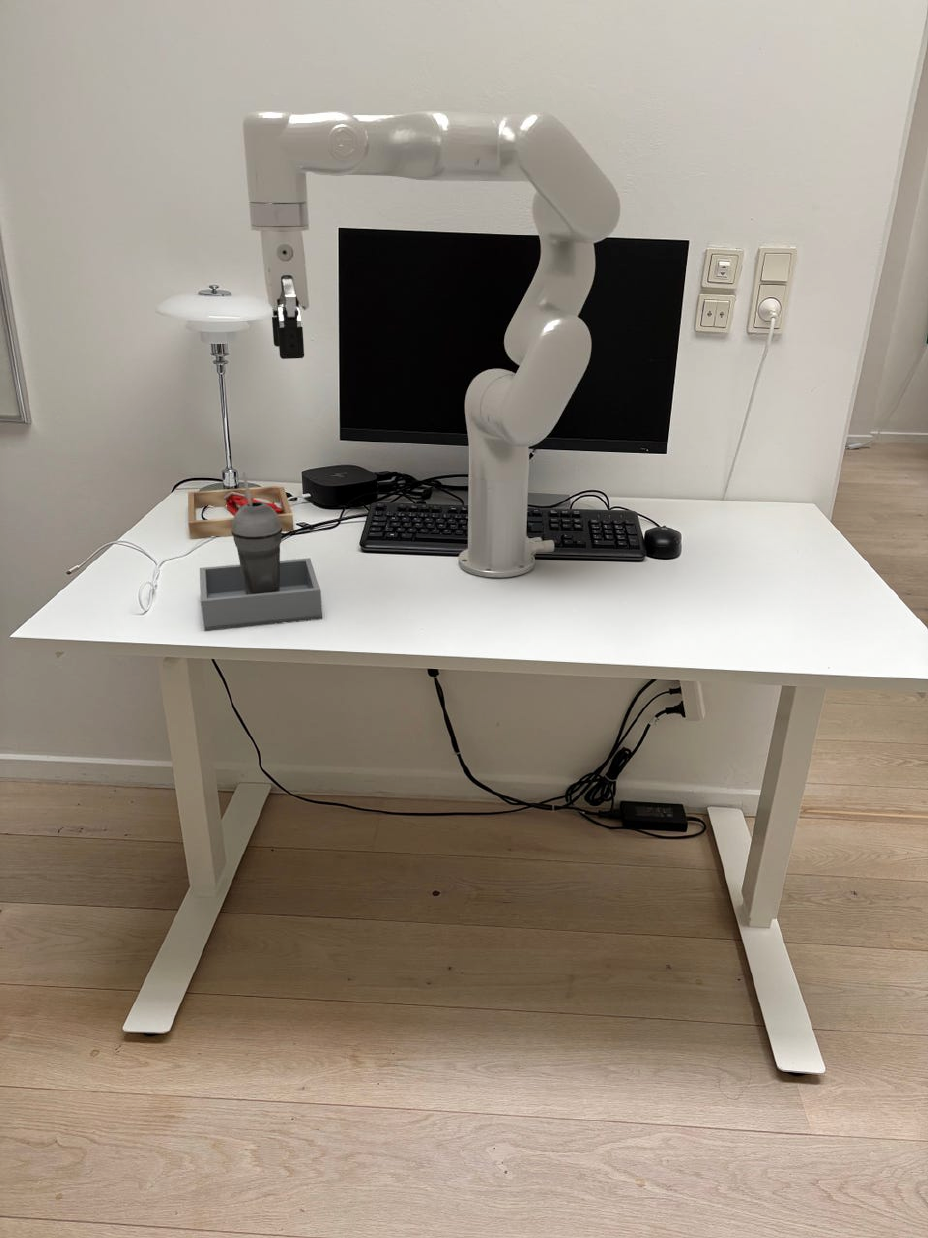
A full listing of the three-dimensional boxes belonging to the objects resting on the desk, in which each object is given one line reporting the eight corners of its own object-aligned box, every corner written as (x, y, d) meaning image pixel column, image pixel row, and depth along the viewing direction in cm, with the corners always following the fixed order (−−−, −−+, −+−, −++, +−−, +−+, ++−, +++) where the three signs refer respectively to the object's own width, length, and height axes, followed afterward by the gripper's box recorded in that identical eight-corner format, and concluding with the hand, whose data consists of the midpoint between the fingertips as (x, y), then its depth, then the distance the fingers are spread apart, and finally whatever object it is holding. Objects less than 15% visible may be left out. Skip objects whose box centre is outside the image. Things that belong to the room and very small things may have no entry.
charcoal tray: (311, 585, 151) (310, 558, 149) (322, 618, 140) (320, 589, 138) (203, 595, 147) (199, 567, 145) (204, 630, 136) (200, 601, 134)
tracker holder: (289, 503, 184) (276, 507, 175) (284, 525, 185) (271, 530, 176) (228, 486, 184) (212, 490, 175) (223, 509, 185) (207, 513, 176)
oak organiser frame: (284, 500, 189) (283, 485, 187) (293, 530, 173) (292, 515, 172) (189, 507, 184) (188, 492, 183) (190, 539, 169) (188, 522, 167)
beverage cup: (277, 615, 139) (266, 482, 131) (230, 610, 140) (216, 478, 132) (295, 595, 146) (285, 467, 137) (250, 591, 147) (238, 464, 138)
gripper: (316, 221, 119) (323, 362, 126) (301, 214, 134) (308, 340, 141) (254, 221, 117) (265, 364, 124) (246, 214, 132) (256, 342, 139)
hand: (288, 351), depth 133 cm, fingers open, 9 cm apart
